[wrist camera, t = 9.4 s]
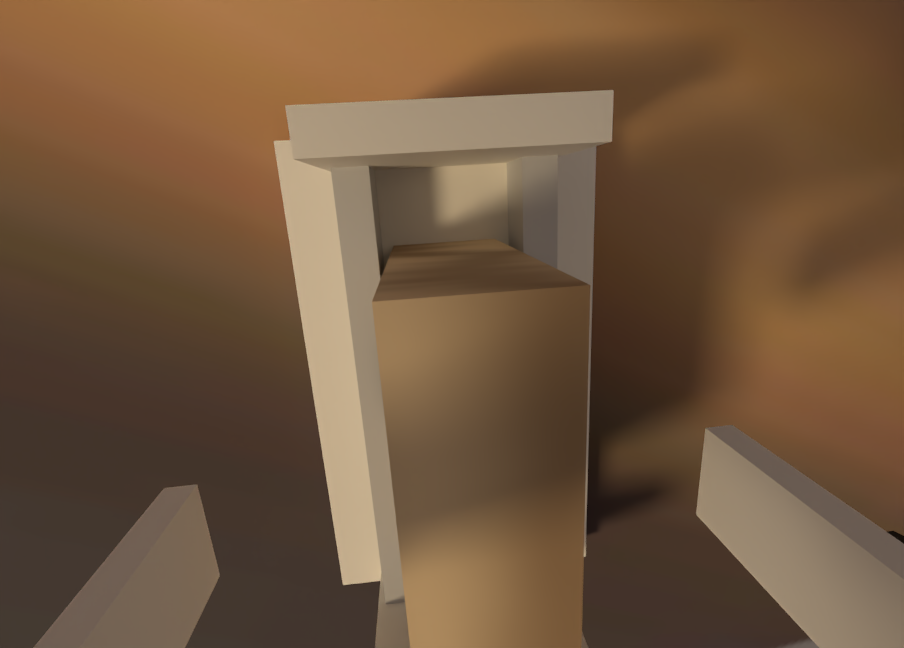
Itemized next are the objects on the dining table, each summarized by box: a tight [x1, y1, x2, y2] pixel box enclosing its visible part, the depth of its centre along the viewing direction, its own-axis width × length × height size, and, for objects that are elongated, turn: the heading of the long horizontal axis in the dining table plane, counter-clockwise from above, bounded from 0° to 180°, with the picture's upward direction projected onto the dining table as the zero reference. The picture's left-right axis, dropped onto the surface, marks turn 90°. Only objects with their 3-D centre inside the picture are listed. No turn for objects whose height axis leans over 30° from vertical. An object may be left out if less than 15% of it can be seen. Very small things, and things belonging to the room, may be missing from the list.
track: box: [274, 90, 614, 648], centre depth 17 cm, size 12×20×7 cm, turn 3°
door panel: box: [372, 239, 590, 648], centre depth 15 cm, size 4×12×10 cm, turn 3°
